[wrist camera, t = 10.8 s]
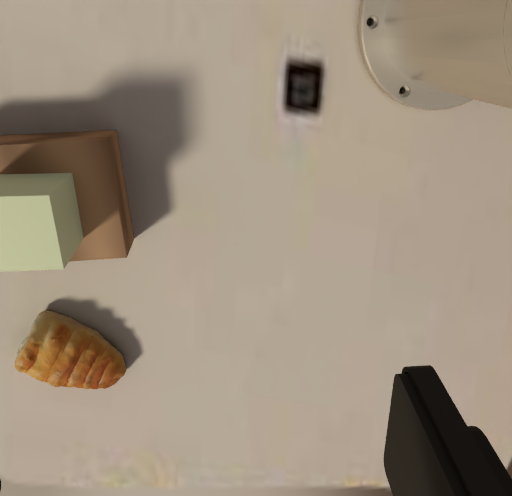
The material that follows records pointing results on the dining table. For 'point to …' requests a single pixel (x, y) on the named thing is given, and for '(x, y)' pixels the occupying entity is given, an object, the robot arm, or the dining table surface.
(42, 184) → the green cube
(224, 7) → the dining table surface
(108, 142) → the walnut block
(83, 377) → the pastry
